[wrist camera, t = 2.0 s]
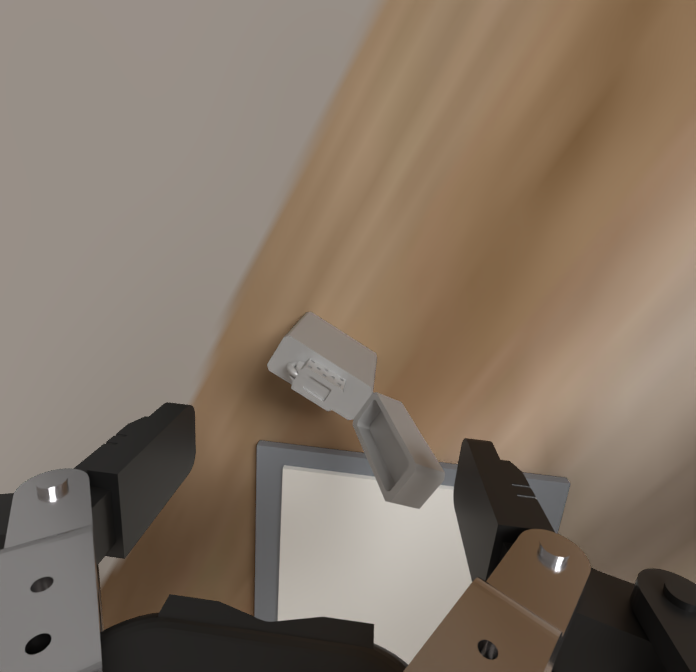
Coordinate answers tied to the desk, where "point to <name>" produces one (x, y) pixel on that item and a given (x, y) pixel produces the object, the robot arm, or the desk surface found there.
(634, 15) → the desk surface
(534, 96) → the desk surface
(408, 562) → the clipboard
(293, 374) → the lighter
